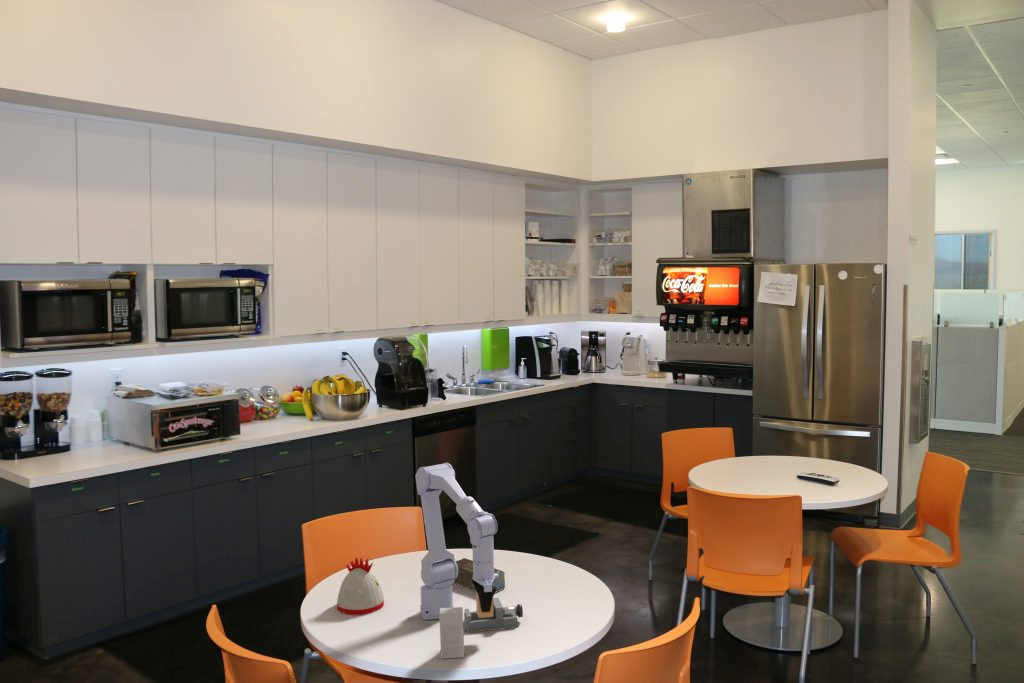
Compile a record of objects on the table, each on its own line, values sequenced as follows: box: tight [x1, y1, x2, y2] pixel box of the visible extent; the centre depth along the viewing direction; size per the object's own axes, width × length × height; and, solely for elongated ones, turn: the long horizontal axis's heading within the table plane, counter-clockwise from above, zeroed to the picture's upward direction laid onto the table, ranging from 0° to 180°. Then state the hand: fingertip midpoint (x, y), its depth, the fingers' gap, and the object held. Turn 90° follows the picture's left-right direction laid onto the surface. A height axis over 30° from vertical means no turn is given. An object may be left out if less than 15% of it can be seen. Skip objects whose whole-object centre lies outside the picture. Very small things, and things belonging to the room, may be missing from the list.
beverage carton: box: [453, 557, 506, 592], centre depth 270 cm, size 8×19×7 cm, turn 46°
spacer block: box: [475, 591, 493, 618], centre depth 229 cm, size 4×4×6 cm
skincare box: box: [439, 606, 465, 659], centre depth 220 cm, size 6×4×12 cm
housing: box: [463, 597, 519, 633], centre depth 239 cm, size 14×8×6 cm, turn 101°
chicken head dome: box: [336, 557, 385, 616], centre depth 254 cm, size 14×14×15 cm
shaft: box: [503, 603, 524, 618], centre depth 240 cm, size 7×4×4 cm, turn 101°
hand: (484, 608), depth 229 cm, fingers closed on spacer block, 4 cm apart
